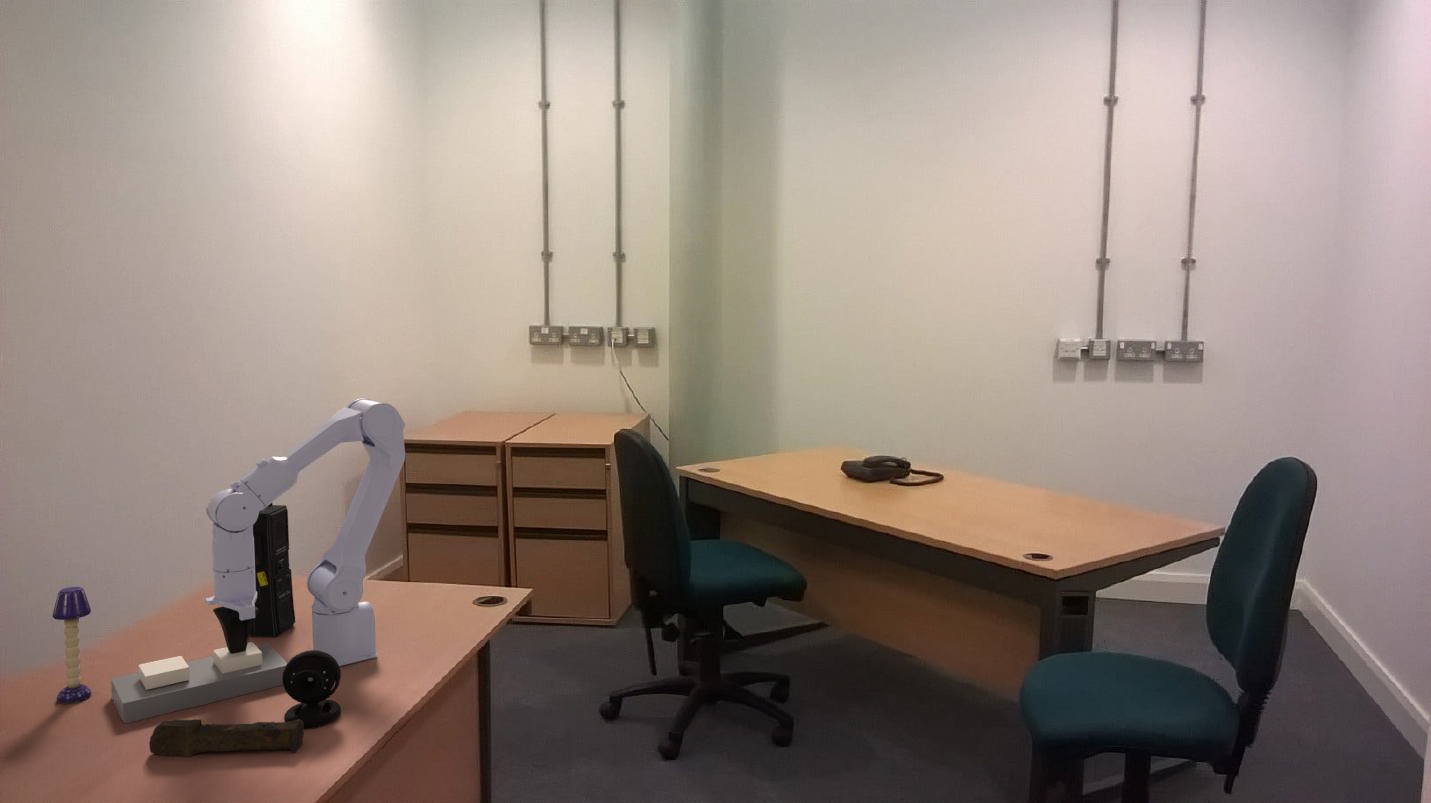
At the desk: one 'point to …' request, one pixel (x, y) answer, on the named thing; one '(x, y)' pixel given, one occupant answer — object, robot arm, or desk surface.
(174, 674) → the cap
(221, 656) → the cap
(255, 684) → the panel
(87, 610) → the toy lamp
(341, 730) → the desk surface
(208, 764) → the desk surface
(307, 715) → the webcam
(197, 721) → the hand tool
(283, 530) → the portable radio
